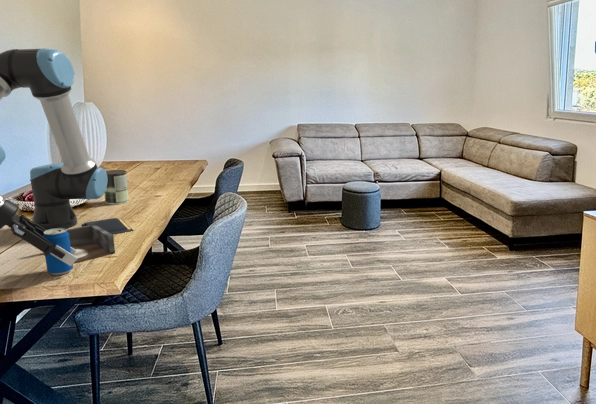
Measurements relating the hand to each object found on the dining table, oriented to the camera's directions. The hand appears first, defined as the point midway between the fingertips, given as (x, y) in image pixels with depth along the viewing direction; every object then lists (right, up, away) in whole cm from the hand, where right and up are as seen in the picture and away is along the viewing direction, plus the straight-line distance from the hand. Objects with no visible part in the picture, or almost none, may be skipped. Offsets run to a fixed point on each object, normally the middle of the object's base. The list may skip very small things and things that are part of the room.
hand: (73, 257), depth 127 cm
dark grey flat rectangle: (-7, +5, +40) cm, 41 cm away
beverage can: (-3, -4, -1) cm, 5 cm away
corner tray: (-5, 0, +14) cm, 14 cm away
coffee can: (-19, +16, +78) cm, 82 cm away
